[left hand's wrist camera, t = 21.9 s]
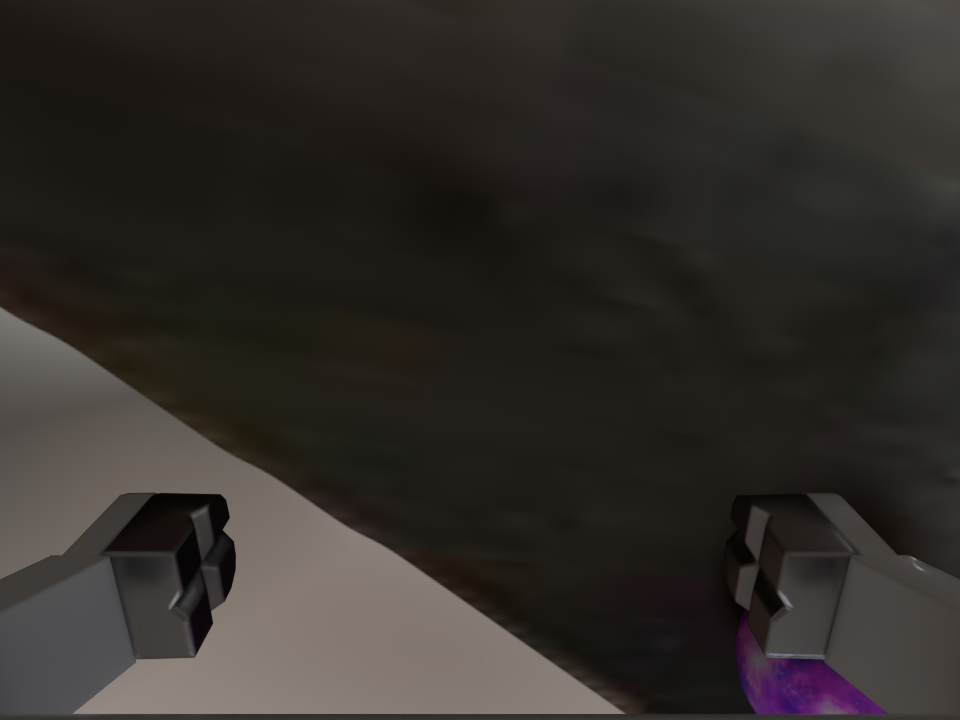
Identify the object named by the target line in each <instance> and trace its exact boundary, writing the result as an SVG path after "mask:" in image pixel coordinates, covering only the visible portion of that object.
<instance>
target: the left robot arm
mask: <svg viewBox="0 0 960 720" xmlns="http://www.w3.org/2000/svg"><path fill="white" fill-rule="evenodd" d="M229 518H230V516H229V511H228V507H227V502H226V499H225V498H224V497H223V496H222V495H221V494H180V493H159V494H157V493H127V494H123V495H120V496H119V497H118V498H117V499H116V500H115V501H114V502H113V503H112V504H111V505H110V506H109V507H108V508H107V509H106V510H105V511H104V513H103V514H102V515H101V516H100V517H99V518H98V519H97V520H96V521H95V522H94V523H93V524H92V525H91V526H90V527H89V528H88V529H87V530H86V531H85V532H84V533H83V534H82V535H81V536H80V537H79V538H78V539H77V541H76V542H75V543H74V544H73V545H72V546H71V547H70V548H69V549H68V550H67V551H66V552H65V553H64V554H63V555H53V556H49V557H47V558H45V559H43V560H41V561H39V562H37V563H34V564H32V565H30V566H28V567H26V568H24V569H22V570H19V571H17V572H15V573H13V574H11V575H9V576H6V577H4V578H2V579H0V720H960V579H958V578H956V577H953V576H951V575H949V574H947V573H945V572H943V571H941V570H938V569H936V568H934V567H932V566H930V565H928V564H926V563H923V562H921V561H919V560H917V559H915V558H913V557H911V556H908V555H897V554H896V553H895V552H894V551H893V550H892V549H891V548H890V547H889V546H888V545H887V544H886V543H885V541H884V540H883V539H882V538H881V537H880V536H879V535H878V534H877V533H876V532H875V531H874V530H873V529H872V528H871V527H870V526H869V525H868V524H867V523H866V522H865V521H864V520H863V519H862V518H861V517H860V515H859V514H858V513H857V512H856V511H855V510H854V509H853V508H852V507H851V506H850V505H849V504H848V503H847V502H846V501H845V500H844V499H843V498H842V497H841V496H840V495H837V494H835V493H832V492H830V493H803V494H774V495H737V496H736V498H735V500H734V502H733V505H732V510H731V516H730V518H731V520H732V522H733V523H734V525H735V527H736V528H737V531H736V532H735V533H734V534H733V535H732V536H731V537H730V538H729V539H728V540H727V541H726V547H725V555H724V565H725V576H726V580H727V583H728V587H729V590H730V592H731V594H732V596H733V598H734V600H735V602H737V603H738V604H740V605H741V606H742V607H744V608H745V609H747V610H748V611H749V615H748V620H747V624H748V626H749V628H750V630H751V632H752V634H753V636H754V638H755V639H756V641H757V643H758V645H759V647H760V649H761V651H762V652H763V654H764V656H765V658H793V659H825V660H824V662H825V663H826V664H827V665H828V666H830V667H831V668H832V669H833V670H835V671H836V672H837V673H838V674H839V675H841V676H842V677H843V678H844V679H846V680H847V681H848V682H849V683H851V684H852V685H853V686H854V687H856V688H857V689H858V690H859V691H861V692H862V693H863V694H864V695H865V696H867V697H868V698H869V699H870V700H872V701H873V702H874V703H875V704H877V705H878V706H879V707H880V708H882V709H883V710H884V711H885V712H886V713H888V714H72V713H74V712H75V711H76V710H77V709H79V708H80V707H81V706H82V705H84V704H85V703H86V702H87V701H89V700H90V699H91V698H92V697H94V696H95V695H96V694H97V693H98V692H100V691H101V690H102V689H103V688H105V687H106V686H107V685H108V684H110V683H111V682H112V681H113V680H115V679H116V678H117V677H118V676H120V675H121V674H122V673H123V672H125V671H126V670H127V669H128V668H129V667H131V666H132V665H133V664H134V663H135V662H136V660H135V659H165V658H195V656H196V654H197V653H198V651H199V649H200V647H201V645H202V643H203V641H204V639H205V638H206V636H207V634H208V632H209V630H210V628H211V626H212V624H213V620H212V615H211V611H212V610H213V609H215V608H216V607H217V606H219V605H220V604H222V603H223V602H225V600H226V598H227V596H228V594H229V592H230V590H231V587H232V583H233V579H234V574H235V569H236V553H235V546H234V541H233V540H232V539H231V538H230V537H229V536H228V535H227V534H226V533H225V532H224V531H223V528H224V526H225V525H226V523H227V522H228V520H229Z"/></svg>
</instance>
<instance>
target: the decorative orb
mask: <svg viewBox="0 0 960 720" xmlns="http://www.w3.org/2000/svg"><path fill="white" fill-rule="evenodd" d="M748 615H749V611H748V610H747V609H745V610H744V611H743V614H742V616H741V618H740V621H739V624H738V628H737V633H736V639H735V658H736V666H737V671H738V675H739V679H740V682H741V685H742V687H743V690H744V692H745V694H746V697H747V699H748V700H749V702H750V704H751V706H752V707H753V709H754V711H755V712H756V714H888V713H886V712H885V711H884V710H883V709H882V708H880V707H879V706H878V705H877V704H875V703H874V702H873V701H872V700H870V699H869V698H868V697H867V696H865V695H864V694H863V693H862V692H861V691H859V690H858V689H857V688H856V687H854V686H853V685H852V684H851V683H849V682H848V681H847V680H846V679H844V678H843V677H842V676H841V675H839V674H838V673H837V672H836V671H835V670H833V669H832V668H831V667H830V666H828V665H827V664H826V663H825V662H824V660H825V659H793V658H765V656H764V654H763V652H762V651H761V649H760V647H759V645H758V643H757V641H756V639H755V638H754V636H753V634H752V632H751V630H750V628H749V626H748V624H747V620H748Z"/></svg>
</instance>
